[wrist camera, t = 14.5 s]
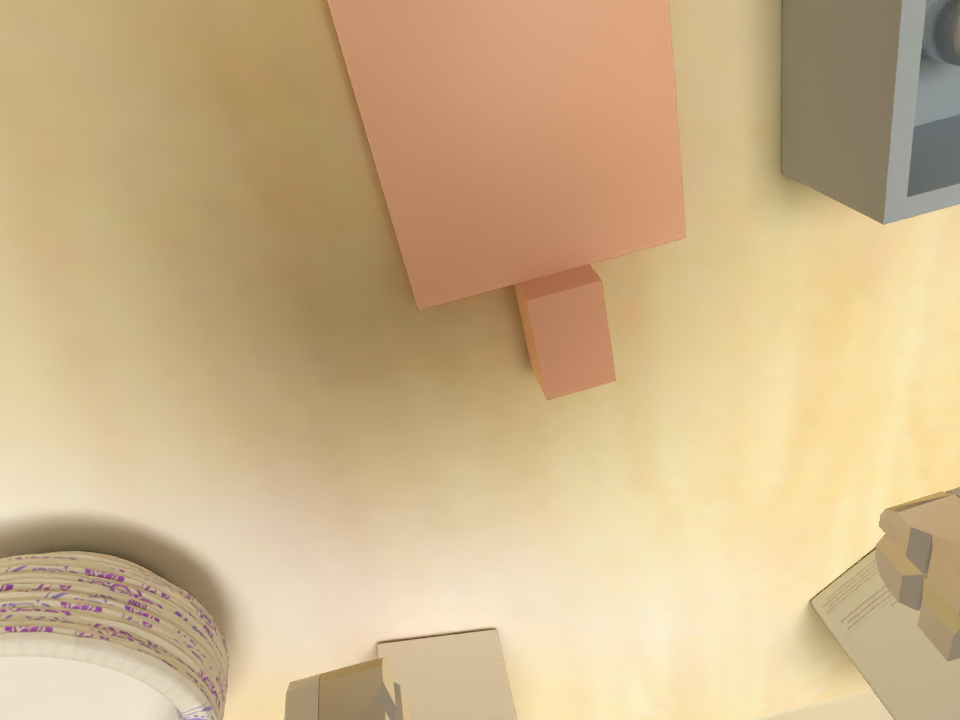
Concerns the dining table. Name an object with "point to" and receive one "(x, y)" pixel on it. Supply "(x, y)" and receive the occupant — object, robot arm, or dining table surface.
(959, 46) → the metal knob
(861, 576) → the supplement box
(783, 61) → the tub
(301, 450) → the dining table surface
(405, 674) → the milk carton
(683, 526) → the dining table surface
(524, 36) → the lid
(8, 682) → the paper bowls
